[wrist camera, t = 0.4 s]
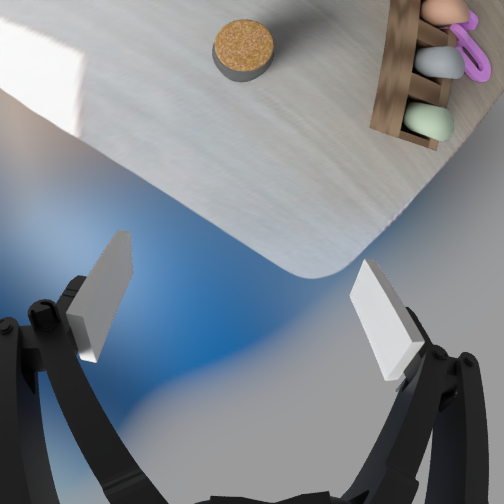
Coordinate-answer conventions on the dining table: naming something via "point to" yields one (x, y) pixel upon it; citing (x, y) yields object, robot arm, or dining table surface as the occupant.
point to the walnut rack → (408, 71)
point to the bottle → (243, 50)
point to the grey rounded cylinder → (439, 62)
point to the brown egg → (444, 12)
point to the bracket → (471, 50)
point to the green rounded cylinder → (429, 120)
